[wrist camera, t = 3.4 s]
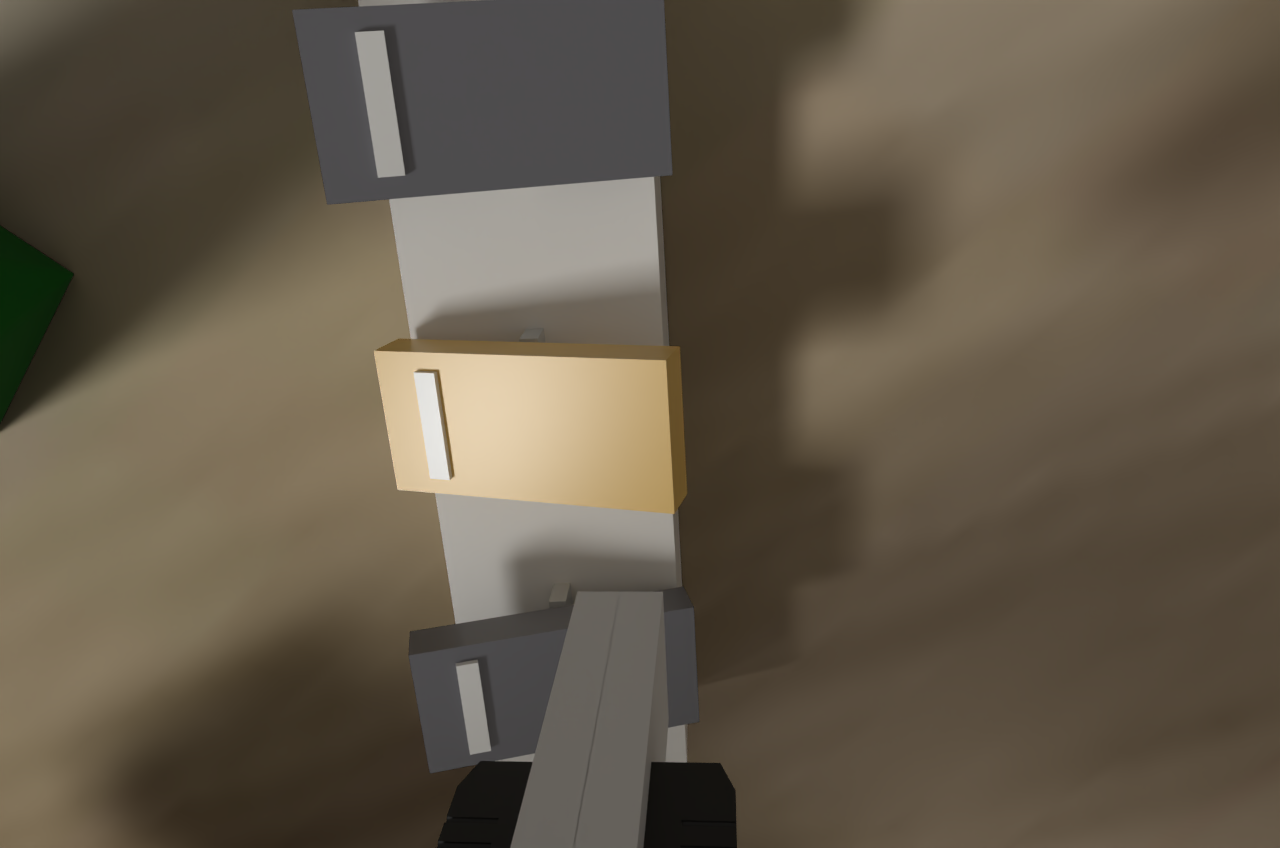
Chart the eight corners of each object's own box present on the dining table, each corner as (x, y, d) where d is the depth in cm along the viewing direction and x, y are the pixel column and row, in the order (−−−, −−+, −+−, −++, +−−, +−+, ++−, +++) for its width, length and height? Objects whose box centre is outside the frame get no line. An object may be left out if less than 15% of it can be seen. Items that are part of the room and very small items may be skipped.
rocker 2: (420, 472, 26) (394, 491, 25) (398, 338, 25) (370, 352, 24) (687, 493, 24) (672, 516, 22) (679, 346, 22) (664, 362, 21)
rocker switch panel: (524, 855, 37) (499, 969, 32) (392, -90, 25) (322, -129, 20) (696, 855, 36) (697, 970, 32) (644, -111, 24) (633, -156, 20)
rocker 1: (333, 199, 21) (326, 205, 20) (299, 14, 20) (290, 9, 19) (661, 171, 23) (674, 175, 22) (651, -3, 21) (665, -10, 20)
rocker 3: (430, 746, 27) (429, 777, 26) (409, 631, 26) (408, 659, 24) (689, 697, 28) (700, 725, 27) (683, 586, 27) (694, 610, 26)
